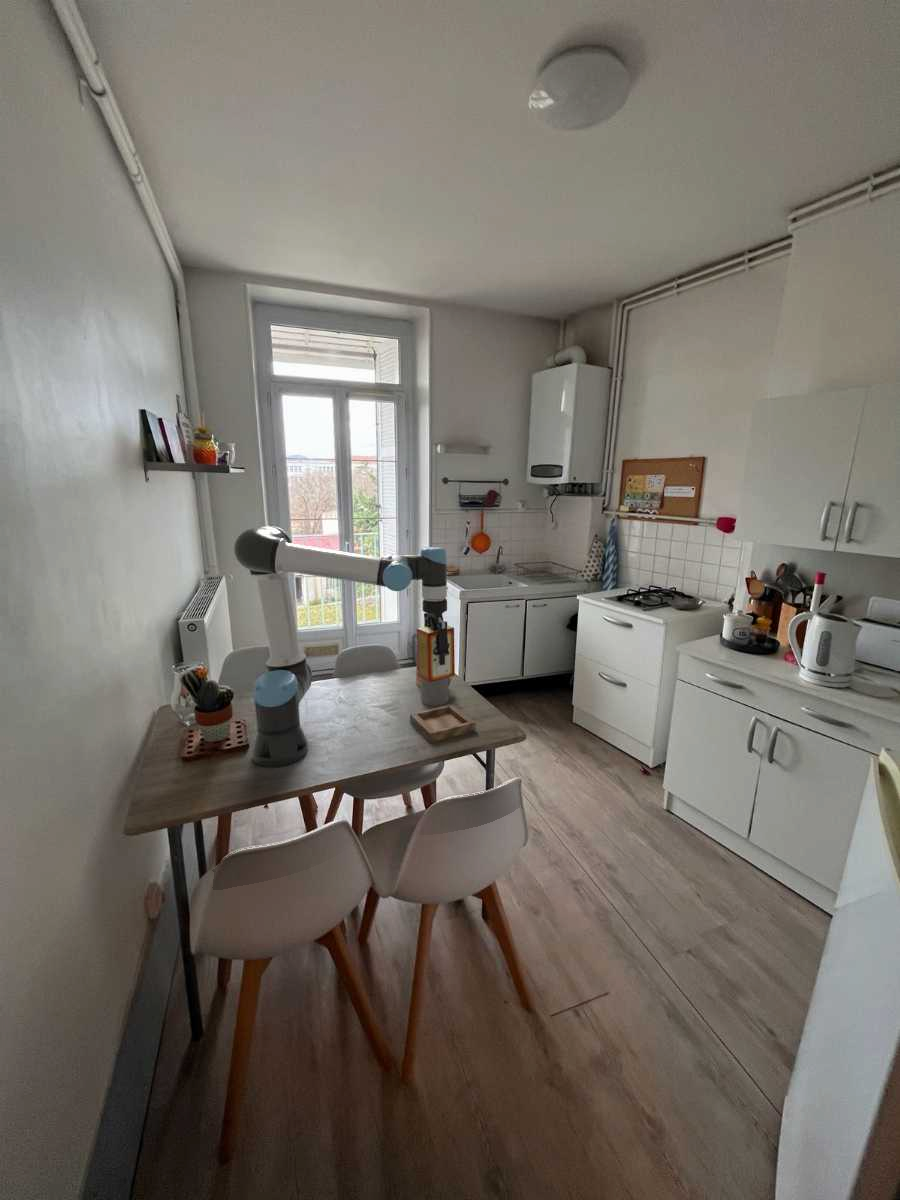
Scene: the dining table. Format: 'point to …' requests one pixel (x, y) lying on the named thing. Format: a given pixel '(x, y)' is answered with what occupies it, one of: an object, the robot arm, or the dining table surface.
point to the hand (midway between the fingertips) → (436, 669)
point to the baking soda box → (433, 654)
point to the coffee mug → (435, 692)
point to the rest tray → (442, 723)
